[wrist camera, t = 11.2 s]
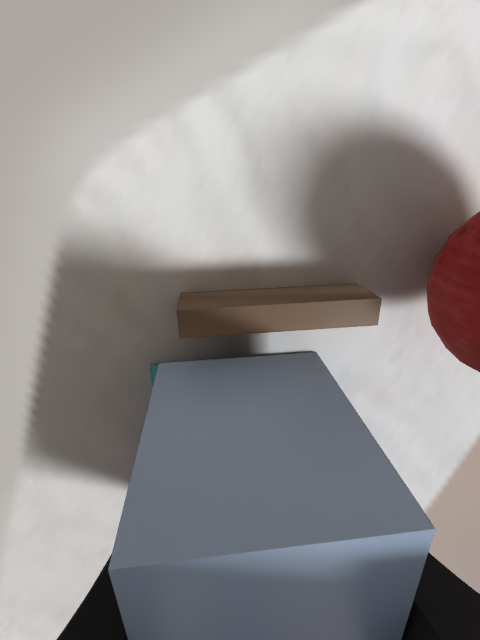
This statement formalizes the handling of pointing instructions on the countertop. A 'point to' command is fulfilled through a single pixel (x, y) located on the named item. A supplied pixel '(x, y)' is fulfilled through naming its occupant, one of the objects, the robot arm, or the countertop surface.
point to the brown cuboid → (276, 310)
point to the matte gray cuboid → (263, 511)
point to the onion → (458, 293)
